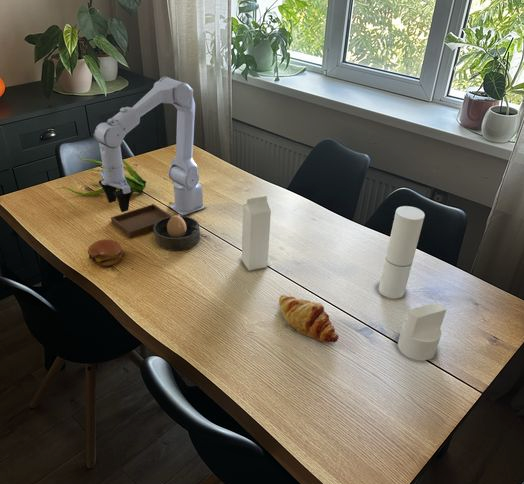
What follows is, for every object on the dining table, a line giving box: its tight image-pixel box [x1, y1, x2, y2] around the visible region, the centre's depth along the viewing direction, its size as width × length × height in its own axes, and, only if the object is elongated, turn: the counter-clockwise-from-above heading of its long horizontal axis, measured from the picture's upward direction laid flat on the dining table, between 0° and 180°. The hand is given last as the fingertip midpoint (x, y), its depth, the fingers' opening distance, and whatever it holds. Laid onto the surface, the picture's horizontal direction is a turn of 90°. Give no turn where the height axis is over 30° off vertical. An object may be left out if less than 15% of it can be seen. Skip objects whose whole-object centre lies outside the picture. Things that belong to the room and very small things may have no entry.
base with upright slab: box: [397, 301, 447, 362], centre depth 119 cm, size 9×9×12 cm
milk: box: [241, 195, 272, 271], centre depth 142 cm, size 6×6×22 cm
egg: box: [167, 215, 186, 238], centre depth 156 cm, size 6×6×8 cm
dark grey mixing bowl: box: [152, 215, 201, 251], centre depth 157 cm, size 14×14×4 cm
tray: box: [110, 203, 172, 239], centre depth 165 cm, size 16×12×2 cm
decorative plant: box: [53, 155, 147, 196], centre depth 177 cm, size 18×30×15 cm, turn 70°
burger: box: [87, 238, 124, 267], centre depth 146 cm, size 10×9×5 cm
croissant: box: [278, 294, 339, 343], centre depth 126 cm, size 21×10×8 cm, turn 39°
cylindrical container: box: [378, 205, 426, 299], centre depth 133 cm, size 7×7×25 cm
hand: (118, 206), depth 153 cm, fingers open, 7 cm apart
